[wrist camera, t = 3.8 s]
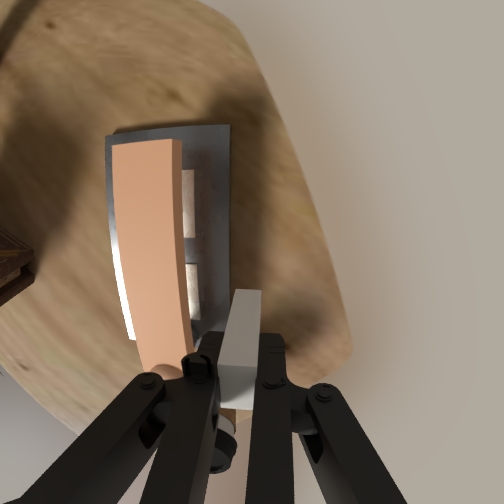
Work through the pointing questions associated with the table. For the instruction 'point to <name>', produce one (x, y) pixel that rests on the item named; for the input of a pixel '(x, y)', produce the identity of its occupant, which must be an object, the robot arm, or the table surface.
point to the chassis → (192, 220)
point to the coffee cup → (224, 441)
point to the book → (13, 266)
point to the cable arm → (153, 250)
